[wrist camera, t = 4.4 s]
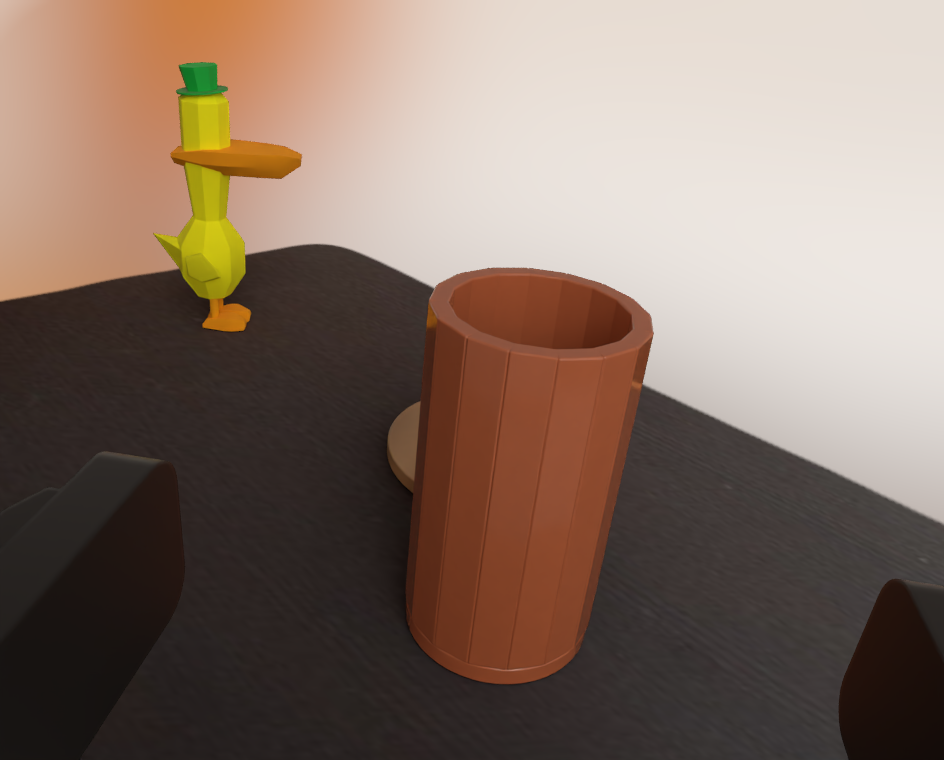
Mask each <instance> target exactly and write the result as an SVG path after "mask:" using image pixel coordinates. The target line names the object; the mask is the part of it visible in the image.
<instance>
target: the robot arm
mask: <svg viewBox="0 0 944 760" xmlns="http://www.w3.org/2000/svg"><path fill="white" fill-rule="evenodd" d="M184 573H185V561H184V550H183V539H182V528H181V516H180V505H179V494H178V483H177V475H176V471H175V469H174V467H173V465H172V464H171V463H170V462H168V461H164V460H158V459H152V458H145V457H139V456H133V455H126V454H120V453H114V452H107V451H104V452H100V453H99V454H97V455H95V456H94V457H93V458H92V459H91V460H90V461H89V462H88V463H87V464H86V465H85V466H84V467H83V468H82V469H81V470H80V471H79V472H78V473H76V474H75V475H74V476H73V477H72V478H71V479H70V480H69V481H68V482H67V483H66V484H65V485H64V486H63V487H62V488H61V489H57V488H51V487H47V488H45V489H43V490H41V491H39V492H37V493H35V494H33V495H31V496H30V497H28V498H26V499H24V500H22V501H20V502H18V503H16V504H14V505H12V506H10V507H8V508H6V509H4V510H2V511H1V512H0V760H79V759H80V758H81V756H82V754H83V753H84V751H85V750H86V748H87V747H88V745H89V744H90V742H91V741H92V739H93V738H94V736H95V734H96V733H97V731H98V730H99V728H100V727H101V725H102V724H103V722H104V721H105V719H106V718H107V716H108V714H109V713H110V711H111V710H112V708H113V707H114V705H115V704H116V702H117V701H118V699H119V698H120V696H121V695H122V693H123V691H124V690H125V688H126V687H127V685H128V684H129V682H130V681H131V679H132V678H133V676H134V675H135V673H136V671H137V670H138V668H139V667H140V665H141V664H142V662H143V661H144V659H145V658H146V656H147V655H148V653H149V651H150V650H151V648H152V647H153V645H154V644H155V642H156V641H157V639H158V638H159V636H160V635H161V633H162V632H163V630H164V628H165V627H166V625H167V624H168V622H169V621H170V619H171V617H172V615H173V613H174V611H175V609H176V607H177V604H178V601H179V598H180V595H181V591H182V587H183V582H184ZM839 724H840V731H841V736H842V740H843V743H844V746H845V749H846V753H847V756H848V759H849V760H944V586H939V585H933V584H926V583H920V582H914V581H908V580H901V579H892V580H890V581H888V582H887V583H886V584H885V585H884V587H883V588H882V590H881V592H880V594H879V596H878V598H877V600H876V603H875V605H874V607H873V610H872V612H871V615H870V617H869V619H868V622H867V624H866V626H865V629H864V631H863V633H862V636H861V638H860V640H859V643H858V645H857V648H856V650H855V652H854V655H853V657H852V659H851V662H850V664H849V666H848V669H847V671H846V673H845V676H844V679H843V682H842V686H841V690H840V697H839Z"/></svg>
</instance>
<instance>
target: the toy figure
mask: <svg viewBox="0 0 944 760" xmlns="http://www.w3.org/2000/svg"><path fill="white" fill-rule="evenodd" d="M179 69H180V71H181V74H182V77H183V80H184V83H185V86H186V87H185V88H181V89H178V90H176V92H177V94H181V96H179V97H178V99H179V113H180V129H181V145H182V146H178V147H177V148H176V149H175V150H174V151H173V152H171V158H172V159H173V161H174V163H177V164H180V165H182V166H184V169H185V174H186V180H187V185H188V190H189V196H190V200H191V206H192V211H193V216H192V217H191V219H190V220H189V222H188V223H187V224H186V226H185V227H184V229H183V230H182V231H181V233H180V234H179V235H178V237H173V236H168V235H161V234H155V233H153V234H154V235H155V237H156V238H157V239H158V241H159V242H160V243H161V244H162V246H163V247H164V248H165V250H166V251H167V252H168V254H169V255H170V256H171V258H172V259H173V260H174V262H175V263H176V264H177V266H178V267H179V269H180V271H181V273H182V275H183V278H184V279H185V280H186V281H187V283H188V284H189V285H190V286H191V288H192V289H193V290H194V292H195V293H196V294H197V295H198V297H202V298H206V299H210V313H209V315H208V318H207V319H206V320H205V321H204V323H203V328H209V329H215V330H221V331H244V329H245V327H246V324H247V322H249V319H250V315H251V311H250V310H249V309H247V308H245V307H243V306H241V305H239V304H228V305H224V306H223V298H225V297H227V296H228V295H230V294H231V293H232V292H233V291H234V289H235V288H236V286H237V285H238V283H239V282H240V280H241V279H242V277H243V276H244V275H245V243H244V241H243V240H242V238H241V236H240V235H239V233H238V232H237V231H236V230H235V228H234V227H233V225H232V224H231V223H230V222H229V220H228V219H227V218H226V213H227V202H228V190H229V180H230V176H243V177H256V178H275V179H282V178H283V177H285V176H286V175H288V174H289V173H291V172H292V171H294V170H295V169H296V168H298V167H300V166H301V158H302V155H301V154H300V153H298V152H295V151H293V150H291V149H289V148H287V147H285V146H279V145H273V144H267V143H259V142H251V141H241V140H232V139H230V125H229V124H230V123H229V101H228V100H227V99H226V98H225V97H224V96H223V95H222V92H225V91H227V90H228V88H227V87H225V86H218V85H217V65H216V64H215V63H206V62H200V63H187V64H182V65H179Z"/></svg>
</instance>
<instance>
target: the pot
mask: <svg viewBox="0 0 944 760" xmlns="http://www.w3.org/2000/svg"><path fill="white" fill-rule="evenodd" d="M653 334H654V333H653V326H652V320H651V316H650V314H649V313H648V312H647V311H646V310H644V309H643V308H642V307H641V306H640V305H639V304H638V303H637V302H636V301H635V300H634V299H632V298H631V297H629V296H627V295H625V294H623V293H621V292H619V291H616V290H615V289H613V288H611V287H609V286H607V285H604V284H601V283H598V282H595V281H592V280H588V279H585V278H581V277H578V276H574V275H571V274H566V273H561V272H554V271H547V270H540V269H533V268H529V269H528V268H487V269H482V270H476V271H470V272H464V273H460V274H457V275H455V276H453V277H451V278H449V279H447V280H445V281H443V282H441V283H439V284H438V285H436V287H435V289H434V291H433V293H432V295H431V297H430V299H429V302H428V315H427V327H426V340H425V352H424V365H423V377H422V390H421V402H420V415H419V427H418V440H417V452H416V465H415V477H414V490H413V502H412V515H411V527H410V540H409V553H408V565H407V578H406V590H405V596H406V619H407V623H408V626H409V629H410V631H411V633H412V635H413V637H414V639H415V641H416V642H417V643H418V645H419V646H420V647H421V649H422V650H423V651H424V652H425V653H426V654H427V655H428V656H429V657H430V658H432V659H433V660H434V661H435V662H437V663H438V664H440V665H441V666H443V667H444V668H446V669H448V670H449V671H452V672H454V673H456V674H458V675H460V676H463V677H466V678H469V679H472V680H476V681H480V682H484V683H492V684H521V683H527V682H532V681H536V680H539V679H542V678H545V677H547V676H549V675H551V674H553V673H555V672H557V671H558V670H560V669H561V668H563V667H564V666H565V665H566V664H567V663H569V662H570V661H571V660H572V659H573V657H574V656H575V655H576V653H577V652H578V650H579V648H580V647H581V645H582V642H583V639H584V635H585V631H586V629H587V627H588V624H589V619H590V615H591V610H592V606H593V602H594V597H595V593H596V588H597V584H598V579H599V575H600V570H601V566H602V561H603V557H604V553H605V548H606V544H607V539H608V535H609V530H610V526H611V521H612V517H613V512H614V508H615V504H616V499H617V495H618V490H619V486H620V481H621V477H622V472H623V468H624V463H625V459H626V455H627V450H628V446H629V441H630V437H631V432H632V428H633V423H634V419H635V414H636V410H637V406H638V401H639V397H640V392H641V388H642V383H643V379H644V374H645V370H646V365H647V361H648V356H649V352H650V348H651V343H652V339H653Z"/></svg>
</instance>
